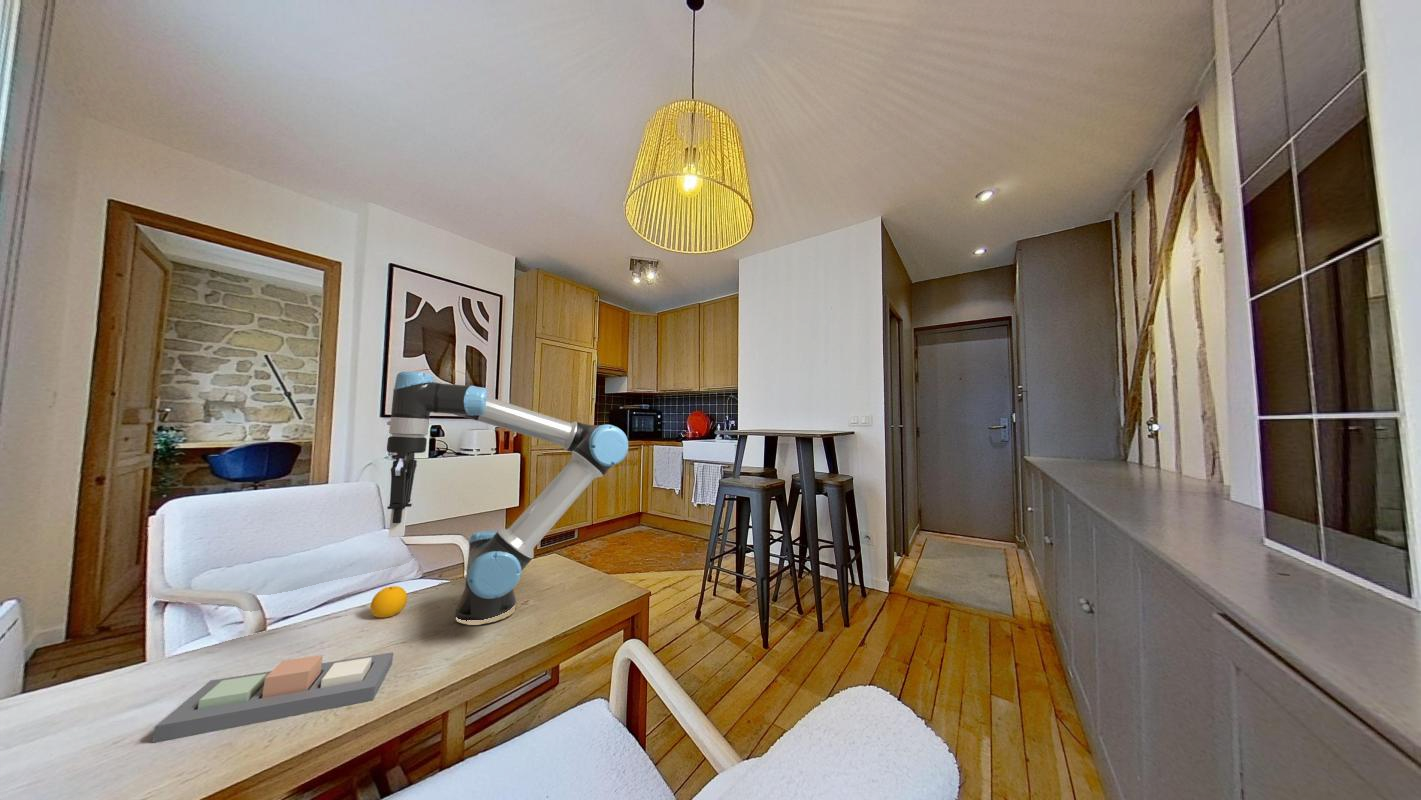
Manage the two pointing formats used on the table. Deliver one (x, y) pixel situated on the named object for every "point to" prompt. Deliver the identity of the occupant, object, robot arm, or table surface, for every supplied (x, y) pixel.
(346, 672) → the cream square block
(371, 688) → the keypad board
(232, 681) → the key
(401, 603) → the yellow lemon
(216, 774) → the table surface
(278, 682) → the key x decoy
